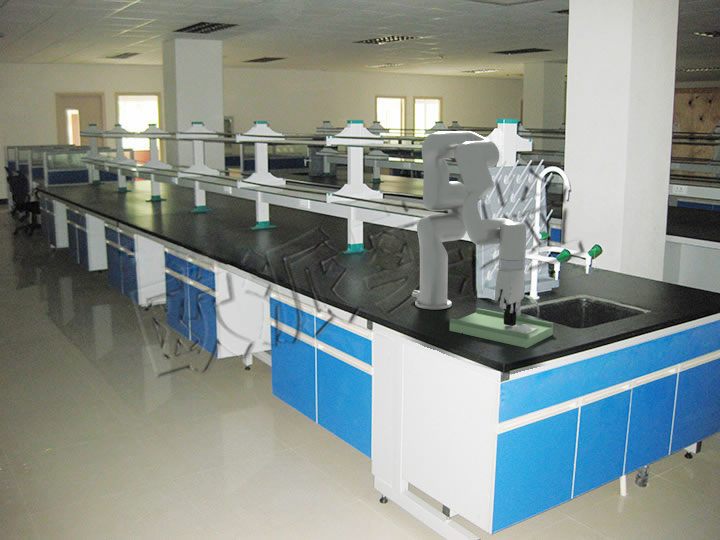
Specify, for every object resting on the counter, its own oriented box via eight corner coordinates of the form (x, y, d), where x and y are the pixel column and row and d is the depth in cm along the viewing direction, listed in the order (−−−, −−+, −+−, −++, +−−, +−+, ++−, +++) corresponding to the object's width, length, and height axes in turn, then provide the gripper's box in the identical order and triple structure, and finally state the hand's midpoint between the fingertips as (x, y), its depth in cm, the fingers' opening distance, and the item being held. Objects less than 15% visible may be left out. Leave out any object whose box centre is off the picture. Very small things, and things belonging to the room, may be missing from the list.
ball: (518, 321, 202) (529, 329, 200) (525, 321, 205) (535, 328, 203) (512, 332, 204) (522, 340, 202) (519, 332, 207) (529, 339, 204)
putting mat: (449, 330, 211) (449, 318, 210) (477, 319, 223) (477, 308, 222) (526, 348, 194) (527, 335, 194) (552, 334, 206) (553, 322, 205)
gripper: (513, 258, 210) (511, 317, 214) (487, 266, 199) (485, 328, 203) (535, 261, 205) (533, 321, 209) (510, 270, 194) (508, 332, 198)
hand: (509, 324), depth 206 cm, fingers closed
